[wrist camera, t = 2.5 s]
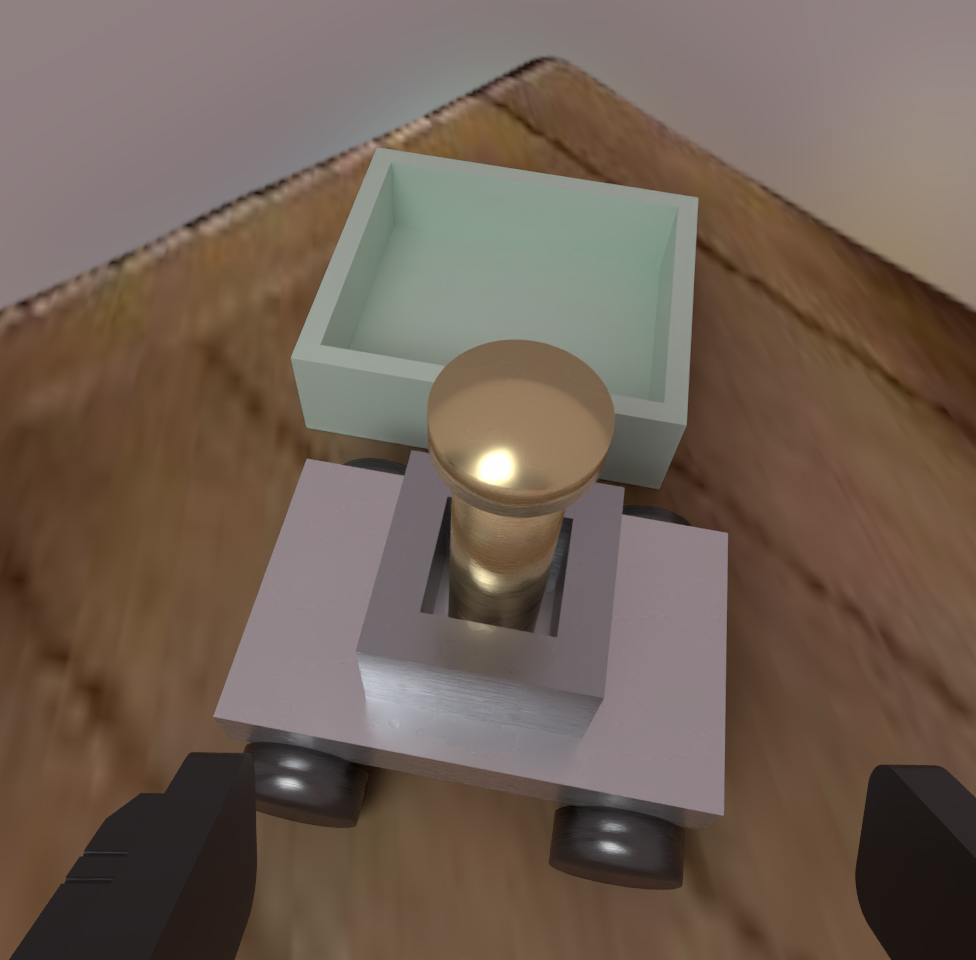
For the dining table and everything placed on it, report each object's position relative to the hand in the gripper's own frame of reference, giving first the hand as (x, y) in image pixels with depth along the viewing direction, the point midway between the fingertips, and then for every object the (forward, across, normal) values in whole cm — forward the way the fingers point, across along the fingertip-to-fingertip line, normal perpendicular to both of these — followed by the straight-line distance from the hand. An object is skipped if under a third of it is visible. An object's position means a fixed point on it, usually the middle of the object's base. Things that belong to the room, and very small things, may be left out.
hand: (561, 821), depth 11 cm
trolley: (+21, 0, +8) cm, 23 cm away
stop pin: (+17, 0, +4) cm, 17 cm away
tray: (+34, -1, -5) cm, 34 cm away
